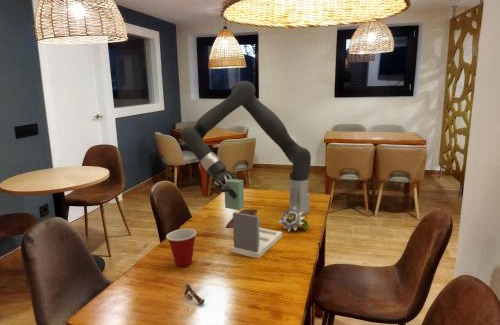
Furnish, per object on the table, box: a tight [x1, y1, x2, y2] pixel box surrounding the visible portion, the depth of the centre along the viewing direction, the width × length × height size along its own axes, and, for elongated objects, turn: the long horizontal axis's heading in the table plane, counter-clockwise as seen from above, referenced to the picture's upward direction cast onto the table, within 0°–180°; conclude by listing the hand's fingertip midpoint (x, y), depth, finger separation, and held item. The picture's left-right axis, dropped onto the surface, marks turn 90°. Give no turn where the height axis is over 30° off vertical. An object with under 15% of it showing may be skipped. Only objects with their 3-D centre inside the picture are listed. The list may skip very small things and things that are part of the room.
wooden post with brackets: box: [184, 283, 206, 306], centre depth 110 cm, size 2×8×4 cm, turn 49°
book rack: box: [230, 211, 283, 259], centre depth 145 cm, size 22×12×16 cm, turn 152°
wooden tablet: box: [225, 209, 258, 230], centre depth 175 cm, size 26×2×10 cm
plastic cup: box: [165, 228, 197, 268], centre depth 131 cm, size 11×11×12 cm
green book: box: [224, 178, 245, 211], centre depth 153 cm, size 4×7×12 cm, turn 62°
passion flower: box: [277, 206, 310, 233], centre depth 161 cm, size 11×11×12 cm
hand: (238, 195), depth 152 cm, fingers closed on green book, 4 cm apart
